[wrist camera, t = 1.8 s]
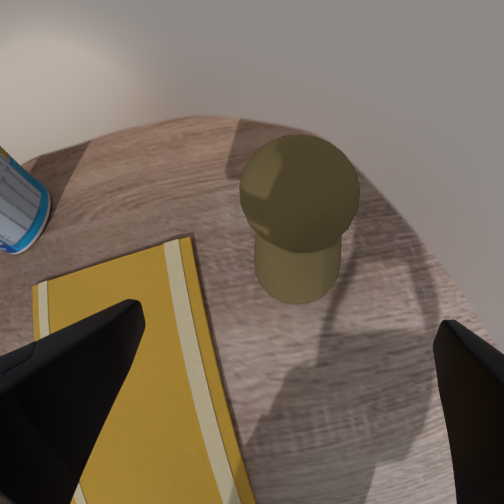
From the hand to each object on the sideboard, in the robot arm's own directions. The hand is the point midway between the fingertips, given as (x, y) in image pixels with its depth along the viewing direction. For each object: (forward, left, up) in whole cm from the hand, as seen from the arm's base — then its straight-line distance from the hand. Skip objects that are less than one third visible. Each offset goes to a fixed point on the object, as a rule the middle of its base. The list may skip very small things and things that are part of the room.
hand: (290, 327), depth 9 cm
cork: (+6, -2, -12) cm, 14 cm away
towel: (0, +13, -12) cm, 18 cm away
